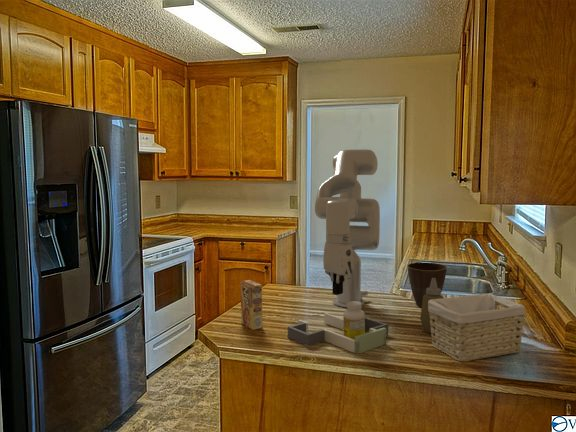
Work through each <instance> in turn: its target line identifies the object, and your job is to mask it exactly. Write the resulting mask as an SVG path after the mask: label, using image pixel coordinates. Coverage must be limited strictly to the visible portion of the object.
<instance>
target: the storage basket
mask: <svg viewBox="0 0 576 432" xmlns="http://www.w3.org/2000/svg"><path fill="white" fill-rule="evenodd" d="M497 306H498V307H501V308H498V307H497ZM428 311H429V315H430V325H431V333H430V334H431V344H432V347H433V348H436V349H437V350H438V349H439V351H440V350H441V351H440V352H442V353H443V352H444V354H445V353H446V355H447V356H448V355H449V356H448V357H450V356H451V357H450V358H452V359H453V360H456V361H458V362H470V361H474V360H475V361H477V360H481V359H486V358H492V357H500V356H505V355H506V356H507V355H509V354H516V353H519V352H521V347H522V346H521V345H522V336H523V327H524V321H525V318H526V317H525V314H526V307H525V305H523V304H520V303H519V302H517V301H513V300H510V299H508V298H505V297H502V296H499V295H495V294H492V293H483V294H482V293H481V294H471V295H465V296H456V297H445V298H444V297H443V298H442V299H431V300H429V301H428Z"/></svg>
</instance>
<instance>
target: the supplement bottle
mask: <svg viewBox="0 0 576 432" xmlns="http://www.w3.org/2000/svg"><path fill="white" fill-rule="evenodd" d="M362 307H363V305H362V303H361V302H357V301H350V302H347V304H346V307H345V308H346V310H344V311H343V315H342V316H343V317H342V318H343V330H342V331H343V333H342V334H343V336H346V337H348V338H351V339H354V340H355V336H358V335H362V334H365V317H366V313H365V312H364V311H363V310H362Z"/></svg>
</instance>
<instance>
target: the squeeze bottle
mask: <svg viewBox="0 0 576 432" xmlns="http://www.w3.org/2000/svg"><path fill="white" fill-rule="evenodd" d="M426 293H427V294H425V295H424V296H423V302H422V308H421V309H420V310H421V312H420V318H419V319H420V320H419V321H420V322H421V325H422V329H423V331H424V332H426V333H430V334H432V333H431V325H430V315H429V311H428V301H429V300H431V299H442V298H444V296H443V295H442V292H441V289H439V288H437V283H436V278H432V280H431V284H430V288H427V289H426ZM440 294H441V295H440Z"/></svg>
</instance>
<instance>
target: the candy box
mask: <svg viewBox="0 0 576 432" xmlns="http://www.w3.org/2000/svg"><path fill="white" fill-rule="evenodd" d="M239 284H240V285H239V286H240V315H241V316H240V321H241V324H242V325H244V326H245V327H247V328H249V329H250V330H259V329H263V328H264V327H263V325H264V324H263V323H264V322H263V318H264V317H263V285H262V284H261V283H259V282H256V281H254V280H251V279H248V280H241V281H240V282H239Z"/></svg>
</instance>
